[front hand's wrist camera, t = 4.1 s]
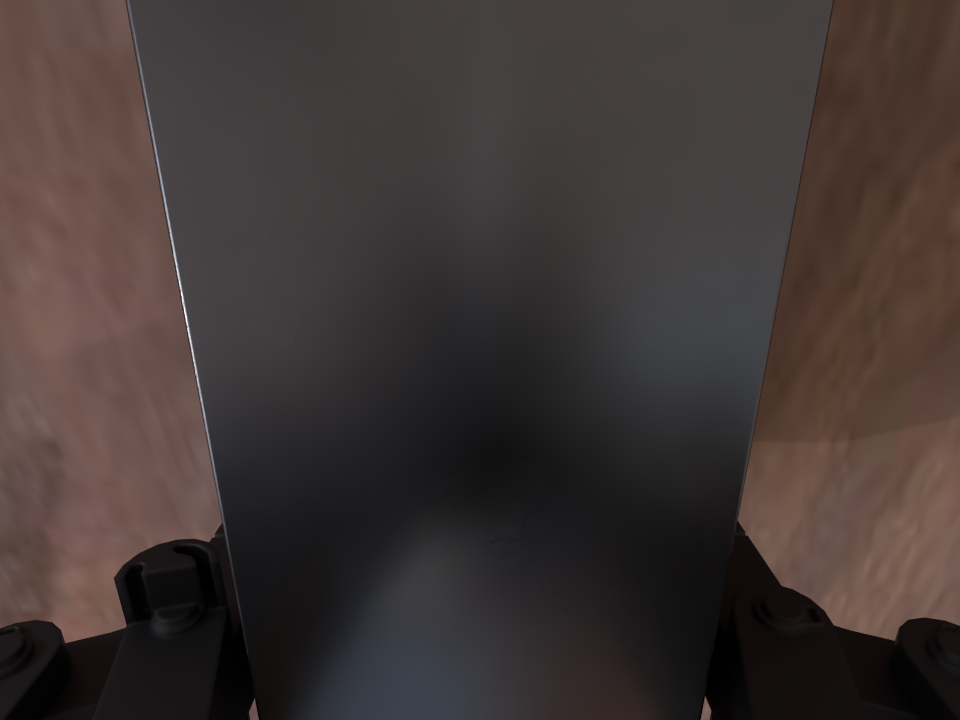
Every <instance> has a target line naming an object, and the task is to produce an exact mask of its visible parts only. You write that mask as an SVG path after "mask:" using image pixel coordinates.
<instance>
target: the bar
mask: <svg viewBox="0 0 960 720" xmlns="http://www.w3.org/2000/svg"><path fill="white" fill-rule="evenodd" d="M125 1H126V7H127V12H128V17H129V23H130V28H131V33H132V39H133V44H134V50H135V55H136V60H137V66H138V71H139V77H140V82H141V87H142V93H143V98H144V103H145V109H146V114H147V120H148V125H149V130H150V136H151V141H152V147H153V152H154V157H155V163H156V168H157V173H158V179H159V184H160V190H161V195H162V200H163V206H164V211H165V217H166V222H167V227H168V233H169V238H170V243H171V249H172V254H173V260H174V265H175V270H176V276H177V281H178V287H179V292H180V297H181V303H182V308H183V313H184V319H185V324H186V330H187V335H188V340H189V346H190V351H191V357H192V362H193V367H194V373H195V378H196V383H197V389H198V394H199V400H200V405H201V410H202V416H203V421H204V427H205V432H206V437H207V443H208V448H209V453H210V459H211V464H212V470H213V475H214V480H215V486H216V491H217V497H218V502H219V507H220V513H221V518H222V523H223V529H224V534H225V540H226V545H227V550H228V556H229V561H230V567H231V572H232V577H233V583H234V588H235V593H236V599H237V604H238V610H239V615H240V620H241V626H242V631H243V637H244V642H245V647H246V653H247V658H248V663H249V669H250V674H251V680H252V685H253V690H254V696H255V701H256V707H257V712H258V717H259V720H701V715H702V709H703V704H704V698H705V693H706V688H707V682H708V677H709V672H710V666H711V661H712V655H713V650H714V645H715V639H716V634H717V628H718V623H719V618H720V612H721V607H722V601H723V596H724V591H725V585H726V580H727V575H728V569H729V564H730V558H731V553H732V548H733V542H734V537H735V531H736V526H737V521H738V515H739V510H740V504H741V499H742V494H743V488H744V483H745V478H746V472H747V467H748V461H749V456H750V451H751V445H752V440H753V434H754V429H755V424H756V418H757V413H758V408H759V402H760V397H761V391H762V386H763V381H764V375H765V370H766V364H767V359H768V354H769V348H770V343H771V337H772V332H773V327H774V321H775V316H776V311H777V305H778V300H779V294H780V289H781V284H782V278H783V273H784V267H785V262H786V257H787V251H788V246H789V241H790V235H791V230H792V224H793V219H794V214H795V208H796V203H797V197H798V192H799V187H800V181H801V176H802V170H803V165H804V160H805V154H806V149H807V144H808V138H809V133H810V127H811V122H812V117H813V111H814V106H815V100H816V95H817V90H818V84H819V79H820V74H821V68H822V63H823V57H824V52H825V47H826V41H827V36H828V30H829V25H830V20H831V14H832V9H833V3H834V0H125Z"/></svg>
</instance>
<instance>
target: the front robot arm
mask: <svg viewBox="0 0 960 720" xmlns="http://www.w3.org/2000/svg"><path fill="white" fill-rule="evenodd" d="M114 581H115V584H116V588H117V591H118V595H119V599H120V602H121V606H122V610H123V613H124V617H125V621H126V624H127V626H126V628H124V629H121V630H117V631H114V632H111V633H107V634H103V635H99V636H94V637H90V638H86V639H82V640H77V641H73V642H69V643H65V641H64V638H63V635H62V632H61V630H60V629H59V628H58V627H57V626H56V625H54V624H53V623H52V622H46V621H39V620H33V621H26V622H20V623H15V624H12V625H9V626H6V627H3V628H1V629H0V720H250V716H249V710H250V708H251V705H252V703H253V701H254V698H255V696H254V690H253V685H252V680H251V674H250V669H249V663H248V658H247V653H246V647H245V642H244V637H243V631H242V626H241V620H240V615H239V610H238V604H237V599H236V593H235V588H234V583H233V577H232V572H231V567H230V561H229V556H228V550H227V545H226V540H225V534H224V529H223V523H222V524H221V525H220V527H219V528H218V530H217V531H216V533H215V537H214V538H212V539H211V540H210V542H205V541H201V540H197V539H181V540H174V541H170V542H166V543H162V544H158V545H156V546H154V547H152V548H149V549H147V550H145V551H143V552H141V553H139V554H137V555H136V556H135V557H133V558H132V559H131V560H130V561H128V562H127V563H126V564H124V565H123V566H122V568H121V569H120V570H119V572H118V573H117V575H116V576H115V577H114ZM705 696H706V699H707V701H708V704H709V706H710V708H711V716H710V720H960V626H959V625H956V624H953V623H950V622H947V621H944V620H937V619H931V618H918V619H911V620H908V621H906V622H905V623H904V624H903V625H902V626H901V627H899V630H898V633H897V636H896V639H895V641H893V640H889V639H884V638H880V637H876V636H872V635H867V634H863V633H859V632H855V631H850V630H847V629H844V628H841V627H837V626H834V625H833V624H832V622H831V620H830V619H829V617H828V616H827V614H826V613H825V611H824V610H823V609H822V608H820V607H819V606H818V605H817V604H816V603H815V602H813V601H812V600H811V599H810V598H808V597H806V596H804V595H802V594H800V593H798V592H797V591H795V590H793V589H790V588H786V587H783V586H781V585H780V583H779V582H778V580H777V579H776V577H775V576H774V574H773V573H772V571H771V570H770V568H769V567H768V565H767V564H766V562H765V561H764V559H763V558H762V556H761V555H760V553H759V552H758V550H757V549H756V547H755V546H754V544H753V543H752V541H751V540H750V538H749V537H748V536H746V535H745V531H744V530H743V528H742V527H741V525H740V524H739V522H738V521H737V526H736V531H735V537H734V542H733V548H732V553H731V558H730V564H729V569H728V575H727V580H726V585H725V591H724V596H723V601H722V607H721V612H720V618H719V623H718V628H717V634H716V639H715V645H714V650H713V655H712V661H711V666H710V672H709V677H708V682H707V688H706V693H705Z"/></svg>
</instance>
